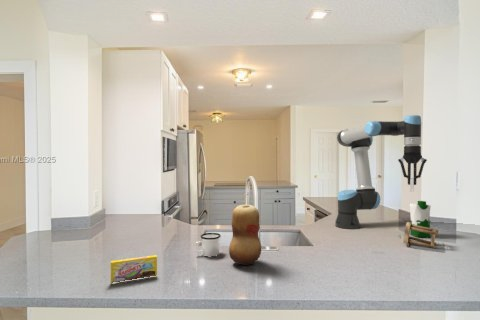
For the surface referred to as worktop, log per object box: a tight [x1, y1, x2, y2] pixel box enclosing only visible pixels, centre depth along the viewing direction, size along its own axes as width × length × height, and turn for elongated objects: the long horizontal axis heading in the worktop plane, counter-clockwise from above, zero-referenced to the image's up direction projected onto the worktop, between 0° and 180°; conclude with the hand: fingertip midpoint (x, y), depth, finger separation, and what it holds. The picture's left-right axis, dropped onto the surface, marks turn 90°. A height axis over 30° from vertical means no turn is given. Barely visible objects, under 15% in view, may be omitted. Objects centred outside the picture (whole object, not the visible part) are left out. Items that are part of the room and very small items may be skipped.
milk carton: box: [409, 200, 431, 239], centre depth 160 cm, size 9×9×20 cm
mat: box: [409, 241, 446, 254], centre depth 142 cm, size 14×14×1 cm
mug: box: [194, 232, 221, 257], centre depth 132 cm, size 12×10×9 cm
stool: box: [403, 221, 439, 249], centre depth 143 cm, size 9×9×14 cm
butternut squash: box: [228, 204, 262, 266], centre depth 120 cm, size 14×13×25 cm
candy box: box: [110, 254, 158, 284], centre depth 105 cm, size 16×2×8 cm, turn 114°
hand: (411, 191), depth 146 cm, fingers closed
